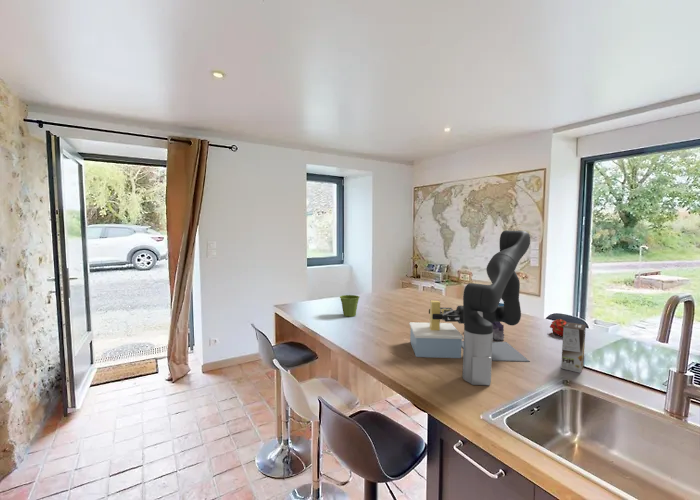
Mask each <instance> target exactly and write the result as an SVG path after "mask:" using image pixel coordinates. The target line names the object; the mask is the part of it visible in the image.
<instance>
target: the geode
mask: <svg viewBox="0 0 700 500" xmlns="http://www.w3.org/2000/svg"><path fill="white" fill-rule="evenodd" d="M492 325H493V339H492V341H493V342H505V341H504V340H505V339H504V338H505V333H504V330H505V329H504V324H502V322H494V323H492Z"/></svg>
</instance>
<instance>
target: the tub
mask: <svg viewBox="0 0 700 500" xmlns="http://www.w3.org/2000/svg"><path fill="white" fill-rule="evenodd" d="M409 332H410V336H409V337H410V340H409V341H410V345H411V347H412V350H413V352H414V355H415V357H416V358H440V359H441V358H442V359H444V358H445V359H446V358H447V359H462V346H461V345H462V341H463V339H437V338H415V336H414V334H413V331H412V329H411V328H410V331H409Z"/></svg>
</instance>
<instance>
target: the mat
mask: <svg viewBox="0 0 700 500" xmlns="http://www.w3.org/2000/svg"><path fill="white" fill-rule="evenodd" d="M463 347H464V340H462V345H461V349H463ZM492 362H517V363H518V362H524V363H529V362H530V360H529V359H528V358H526V357H525V356H524V355H523V354H522V353H521V352H519V350H517V349H516V348H515V347H513V346H512V345H511V344H509V343H508V342H507V341H492Z"/></svg>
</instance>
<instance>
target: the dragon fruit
mask: <svg viewBox="0 0 700 500" xmlns="http://www.w3.org/2000/svg"><path fill="white" fill-rule="evenodd" d="M567 322H568V321H566V320H564V319H561V318H557V319H555V320H552V321H551V324H550V326H549V328H550V329H552V333H553V334H554V335H555V334H556V335H558V336H559V337H560V338H561V337H562V338H563V327H564V325H565V324H566V323H567Z"/></svg>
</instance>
